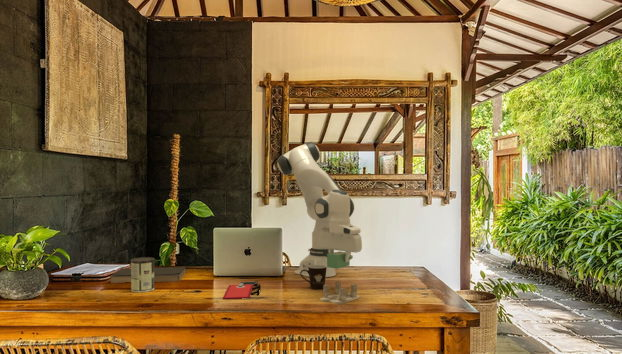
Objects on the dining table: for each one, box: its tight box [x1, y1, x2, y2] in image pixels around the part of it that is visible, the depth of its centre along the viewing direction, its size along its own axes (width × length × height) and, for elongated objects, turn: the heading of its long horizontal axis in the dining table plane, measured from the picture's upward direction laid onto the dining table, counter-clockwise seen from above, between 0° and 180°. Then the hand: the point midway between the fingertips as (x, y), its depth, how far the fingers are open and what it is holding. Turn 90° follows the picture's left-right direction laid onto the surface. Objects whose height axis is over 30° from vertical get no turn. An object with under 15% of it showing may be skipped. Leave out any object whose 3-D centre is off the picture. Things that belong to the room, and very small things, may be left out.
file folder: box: [109, 266, 187, 284], centre depth 246 cm, size 33×4×24 cm
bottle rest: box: [320, 280, 360, 305], centre depth 202 cm, size 10×14×6 cm
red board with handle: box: [222, 280, 262, 300], centre depth 217 cm, size 30×3×15 cm
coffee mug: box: [299, 265, 327, 291], centre depth 222 cm, size 12×9×10 cm
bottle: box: [327, 250, 354, 270], centre depth 203 cm, size 5×14×6 cm, turn 141°
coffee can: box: [130, 256, 155, 293], centre depth 218 cm, size 10×10×14 cm
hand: (339, 260), depth 202 cm, fingers closed on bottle, 5 cm apart
